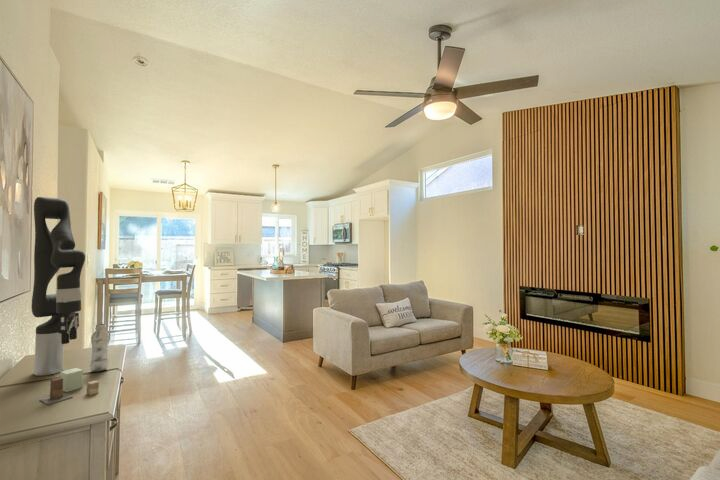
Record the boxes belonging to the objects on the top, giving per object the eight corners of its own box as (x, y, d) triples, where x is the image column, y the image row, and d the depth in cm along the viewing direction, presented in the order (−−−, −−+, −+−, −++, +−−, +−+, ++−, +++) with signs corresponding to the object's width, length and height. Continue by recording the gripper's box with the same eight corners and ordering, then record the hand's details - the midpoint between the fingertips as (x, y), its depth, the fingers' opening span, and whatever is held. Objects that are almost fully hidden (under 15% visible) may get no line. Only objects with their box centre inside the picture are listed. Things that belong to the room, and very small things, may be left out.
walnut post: (39, 400, 121) (40, 380, 122) (63, 393, 128) (64, 374, 128) (47, 405, 118) (48, 384, 118) (72, 397, 124) (73, 377, 124)
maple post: (86, 393, 128) (87, 382, 128) (94, 391, 130) (95, 380, 130) (90, 395, 126) (90, 384, 126) (98, 392, 129) (98, 381, 129)
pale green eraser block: (59, 389, 131) (60, 371, 132) (76, 384, 136) (76, 367, 136) (65, 392, 129) (66, 374, 129) (82, 387, 133) (83, 370, 133)
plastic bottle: (98, 374, 148) (100, 326, 149) (85, 372, 149) (87, 325, 150) (112, 369, 154) (113, 323, 155) (99, 367, 156) (101, 322, 156)
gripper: (63, 299, 143) (64, 339, 142) (49, 302, 130) (49, 346, 129) (86, 297, 146) (86, 336, 145) (74, 300, 133) (75, 343, 132)
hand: (69, 341), depth 137 cm, fingers open, 8 cm apart
